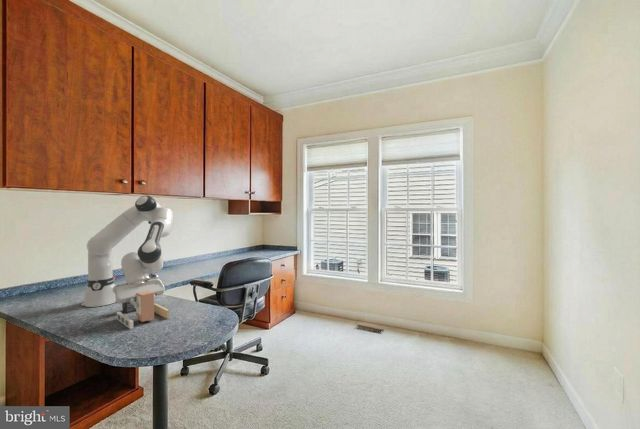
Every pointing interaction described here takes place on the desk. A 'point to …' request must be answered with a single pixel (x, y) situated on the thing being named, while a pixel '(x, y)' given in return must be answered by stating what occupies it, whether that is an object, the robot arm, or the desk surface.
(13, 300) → the desk surface
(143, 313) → the carton
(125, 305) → the small box
